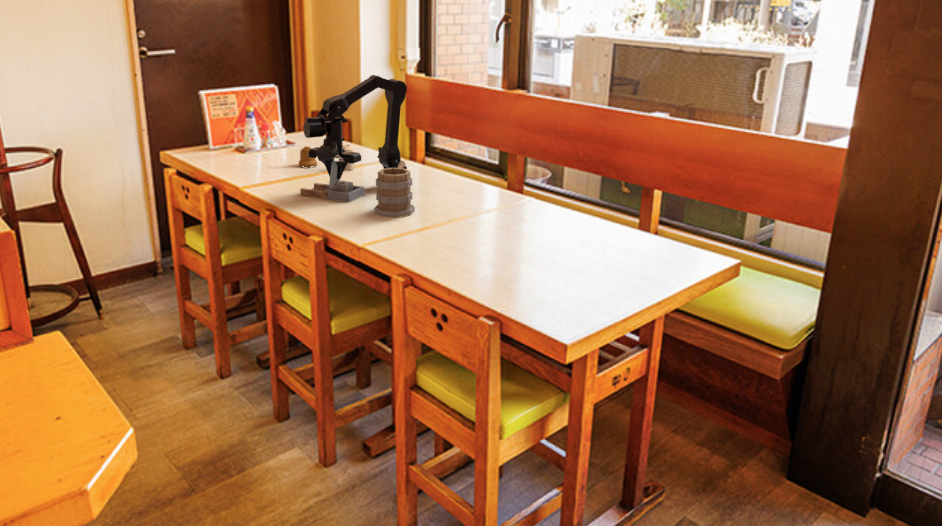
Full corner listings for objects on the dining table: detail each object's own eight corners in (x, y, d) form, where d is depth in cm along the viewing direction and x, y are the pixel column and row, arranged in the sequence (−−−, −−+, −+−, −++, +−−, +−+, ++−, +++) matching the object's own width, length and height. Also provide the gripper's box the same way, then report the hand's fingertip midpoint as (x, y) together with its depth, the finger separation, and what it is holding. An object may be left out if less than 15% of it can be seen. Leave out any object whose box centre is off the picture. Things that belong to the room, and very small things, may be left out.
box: (364, 194, 272) (364, 186, 271) (349, 202, 263) (349, 193, 262) (343, 191, 275) (342, 183, 274) (327, 198, 266) (327, 190, 265)
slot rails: (341, 191, 275) (341, 186, 275) (326, 198, 267) (326, 193, 266) (316, 187, 279) (316, 182, 279) (300, 194, 271) (300, 189, 270)
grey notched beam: (340, 193, 273) (344, 161, 268) (331, 196, 268) (335, 164, 263) (334, 191, 274) (338, 159, 269) (325, 194, 269) (329, 162, 264)
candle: (347, 171, 303) (346, 147, 300) (337, 169, 306) (336, 145, 303) (356, 169, 307) (356, 145, 304) (347, 166, 311) (346, 143, 307)
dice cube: (333, 197, 268) (333, 183, 266) (341, 193, 273) (340, 180, 271) (346, 199, 267) (345, 185, 265) (353, 195, 271) (352, 182, 269)
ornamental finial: (301, 168, 306) (297, 164, 312) (319, 167, 309) (314, 163, 315) (300, 149, 303) (295, 145, 309) (318, 148, 306) (313, 144, 312)
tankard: (407, 218, 247) (407, 174, 242) (370, 215, 250) (369, 171, 244) (423, 202, 266) (423, 160, 260) (388, 199, 268) (388, 158, 263)
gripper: (298, 136, 259) (300, 180, 265) (344, 142, 253) (345, 187, 258) (316, 131, 269) (318, 173, 274) (361, 137, 262) (362, 180, 268)
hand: (335, 178), depth 268 cm, fingers closed on grey notched beam, 3 cm apart
